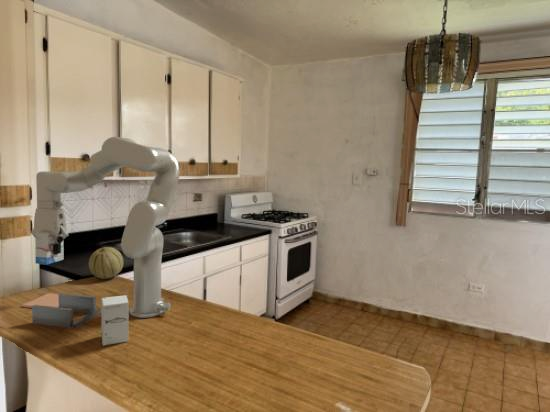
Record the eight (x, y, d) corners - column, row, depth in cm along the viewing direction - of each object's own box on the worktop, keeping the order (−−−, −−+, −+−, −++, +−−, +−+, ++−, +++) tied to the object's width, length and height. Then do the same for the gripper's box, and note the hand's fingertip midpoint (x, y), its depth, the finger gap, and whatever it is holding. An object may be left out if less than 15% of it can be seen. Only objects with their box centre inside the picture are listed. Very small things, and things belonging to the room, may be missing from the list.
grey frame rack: (100, 313, 132) (100, 297, 131) (75, 328, 119) (75, 310, 119) (61, 308, 134) (60, 293, 134) (32, 323, 122) (32, 306, 121)
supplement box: (102, 346, 108) (101, 305, 107) (101, 336, 115) (100, 297, 114) (129, 342, 112) (129, 302, 110) (126, 332, 118) (126, 294, 117)
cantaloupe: (124, 272, 181) (123, 242, 180) (122, 281, 168) (122, 249, 166) (90, 274, 176) (90, 243, 175) (86, 284, 162) (86, 250, 161)
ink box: (46, 265, 133) (46, 233, 132) (35, 263, 134) (34, 232, 133) (64, 259, 141) (63, 229, 140) (53, 258, 142) (52, 228, 141)
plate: (78, 298, 145) (78, 296, 145) (53, 310, 133) (53, 308, 133) (48, 295, 147) (48, 293, 147) (21, 307, 135) (21, 304, 135)
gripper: (76, 205, 138) (77, 252, 140) (36, 202, 140) (37, 249, 142) (62, 207, 131) (63, 257, 132) (20, 204, 133) (21, 253, 135)
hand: (50, 252), depth 137 cm, fingers closed on ink box, 5 cm apart
